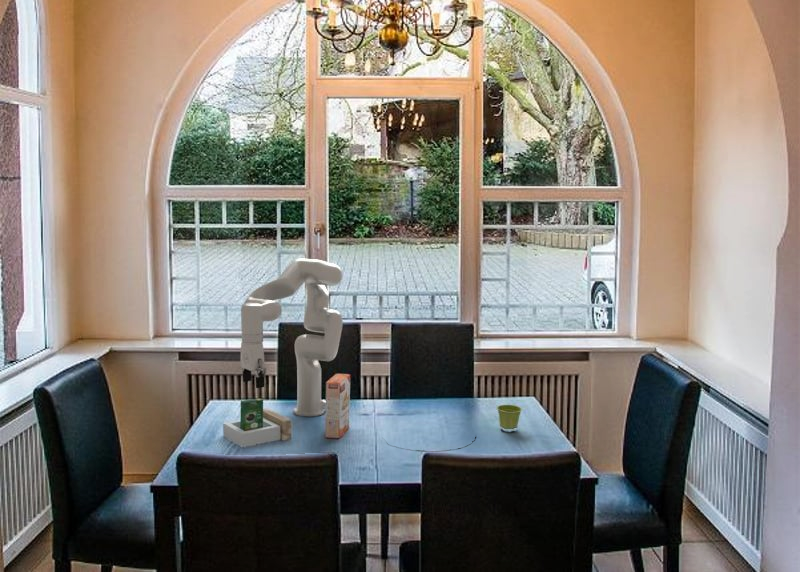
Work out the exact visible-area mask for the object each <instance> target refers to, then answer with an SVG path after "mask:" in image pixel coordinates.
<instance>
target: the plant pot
mask: <svg viewBox="0 0 800 572" xmlns="http://www.w3.org/2000/svg"><path fill="white" fill-rule="evenodd" d="M496 410H497V412H498V417H499V418H498V419H499V428H500V427H502V428H504V429H514V428H517V429H518V424H519V421H520V415H521V412H522V411H523V408H522V407H520V406H518V405H513V404H499V405H498V406H497V407H496Z"/></svg>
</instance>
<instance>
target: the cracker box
mask: <svg viewBox="0 0 800 572" xmlns="http://www.w3.org/2000/svg"><path fill="white" fill-rule="evenodd" d="M350 394H351V374H348V373H335V374H334V375H333V376H332V377H330V378H329V379H328V380H327V381H326V382H325V401H326V405H325V417H324V418H325V419H324V420H325V421H324V423H325V426H324V428H325V429H324V435H325V436H324V437H325V438H326V439H327V438H329V439H337V438H338V439H341V437H342V436H343V435H344V434H345V433H346V431H347V430H348V429H350V413H351V412H350V410H351V409H350V407H351V405H350V404H351V403H350V402H351V401H350V400H351V397H350V396H351V395H350Z"/></svg>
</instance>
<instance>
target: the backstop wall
mask: <svg viewBox="0 0 800 572" xmlns="http://www.w3.org/2000/svg"><path fill="white" fill-rule="evenodd" d="M263 418H265V419H267V420H269V421H271V422H273V423H275V424H277V425H279V426H280V438H281V439H280V440H283V441H286V440H287V439H288V440H292V419H290V418H288V417H286V416H284V415H282V414H279V413H278V412H275V411H274V410H271V409H270V408H267V407H266V408H263ZM288 440H287V441H288Z"/></svg>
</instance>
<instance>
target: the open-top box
mask: <svg viewBox="0 0 800 572" xmlns="http://www.w3.org/2000/svg"><path fill="white" fill-rule="evenodd" d="M222 430H223V432H222V433H223V434H222V435H223V438H226V439H227V440H229V441H230V442H232V443H234V444H235V443H236V445H237V444H238V445H237V446H239V445H240V446H239V447H241V446H242V447H244V448H247V447H246V446H249V447H252V445H253V446H257V445H256V444H258V445H261V443H262V444H266V443H265V442H267V443H271V442H270V441H272V442H275V440H276V441H280V440H281V439H280V426H279V425H277V424H275V423H273V422H271V421H269V420H267V419H265V418H263V428H259V429H254V430H249V431H243V430H242V429H240V419H238V420H233V421H232V420H231V421H228V422H223V423H222ZM242 447H241V448H242Z"/></svg>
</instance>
